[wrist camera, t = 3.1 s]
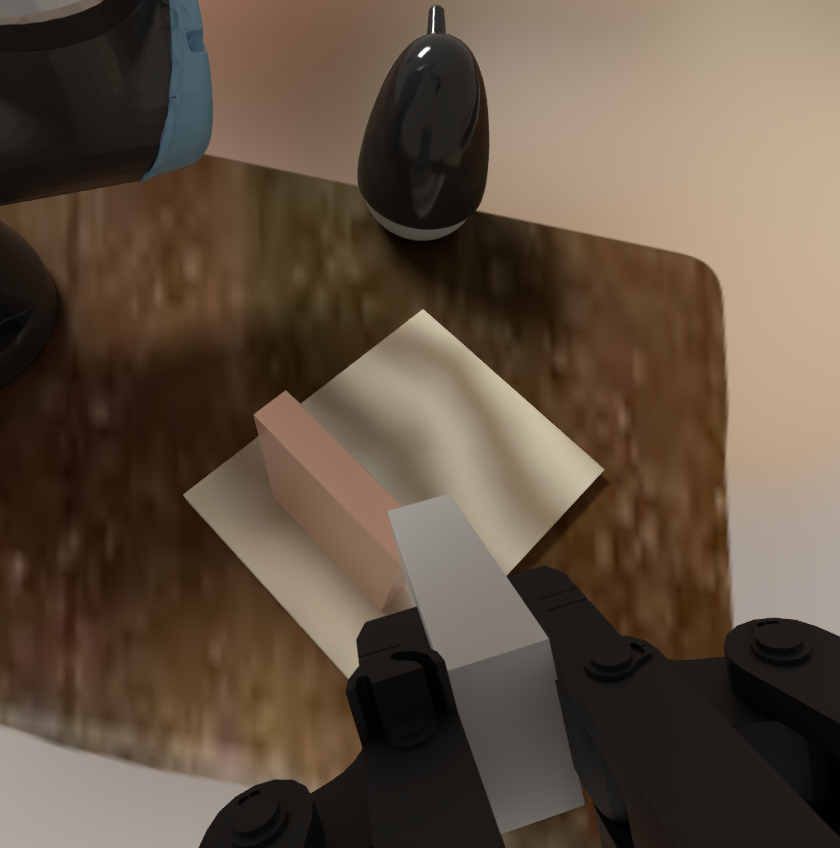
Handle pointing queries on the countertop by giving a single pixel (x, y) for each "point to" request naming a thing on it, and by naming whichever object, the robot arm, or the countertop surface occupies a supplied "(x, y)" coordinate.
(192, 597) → the countertop surface
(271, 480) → the tile
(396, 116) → the black glossy egg shape
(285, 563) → the cloth
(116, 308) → the countertop surface
